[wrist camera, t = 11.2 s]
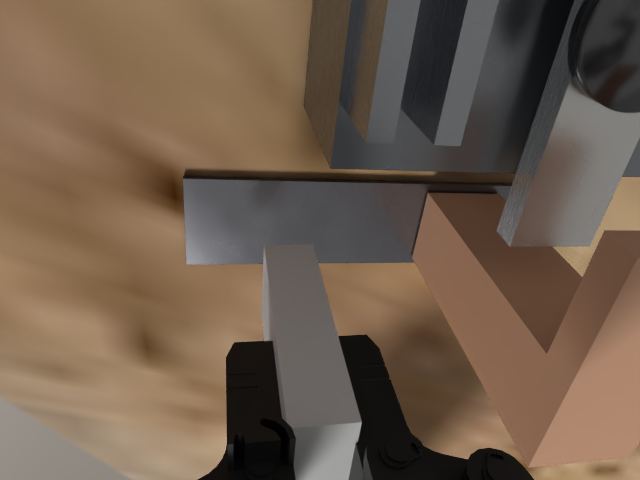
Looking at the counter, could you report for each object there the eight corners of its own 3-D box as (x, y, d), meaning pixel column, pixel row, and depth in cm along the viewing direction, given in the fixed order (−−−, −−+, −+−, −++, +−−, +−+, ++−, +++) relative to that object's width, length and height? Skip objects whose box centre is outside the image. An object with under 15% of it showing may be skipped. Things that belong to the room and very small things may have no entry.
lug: (449, 101, 17) (637, 258, 10) (528, 105, 18) (767, 257, 10) (411, 257, 21) (527, 467, 13) (479, 257, 21) (629, 457, 14)
